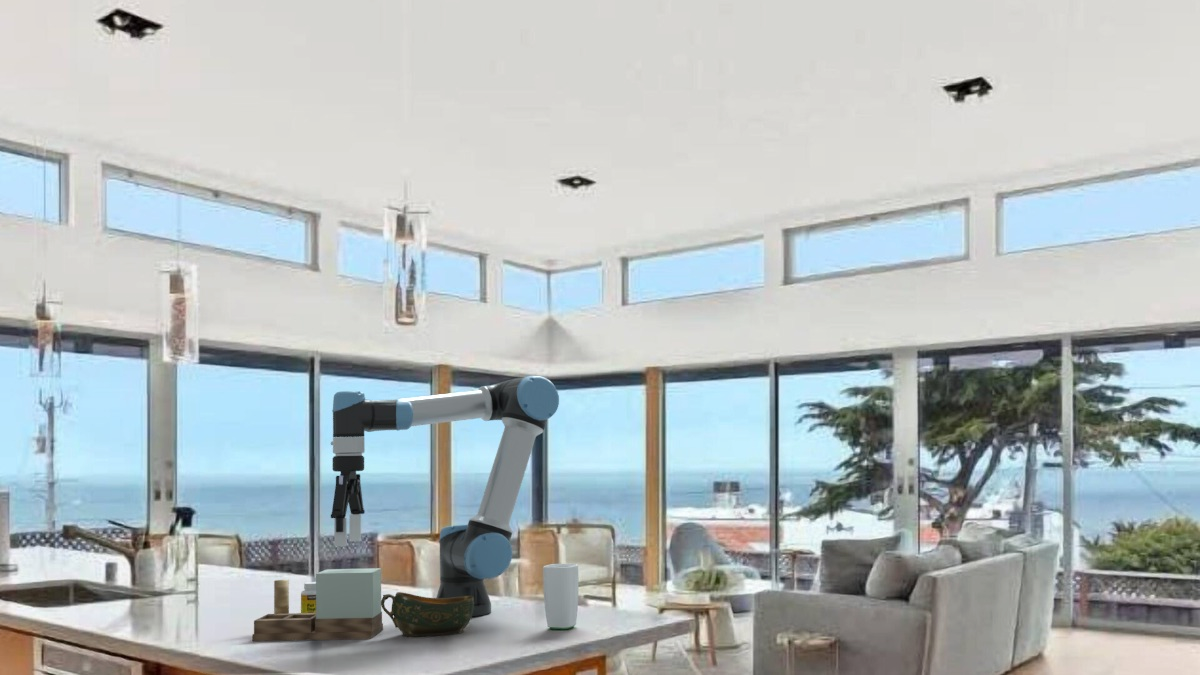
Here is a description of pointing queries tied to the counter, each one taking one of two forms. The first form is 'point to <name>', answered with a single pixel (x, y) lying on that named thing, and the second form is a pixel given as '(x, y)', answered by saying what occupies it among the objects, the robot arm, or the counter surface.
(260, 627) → the wooden compartment tray
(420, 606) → the green gravy boat
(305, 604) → the supplement bottle
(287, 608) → the peg
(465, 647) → the counter surface
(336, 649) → the counter surface
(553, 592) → the cup
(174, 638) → the counter surface
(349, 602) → the pale green boxy piece
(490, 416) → the robot arm
